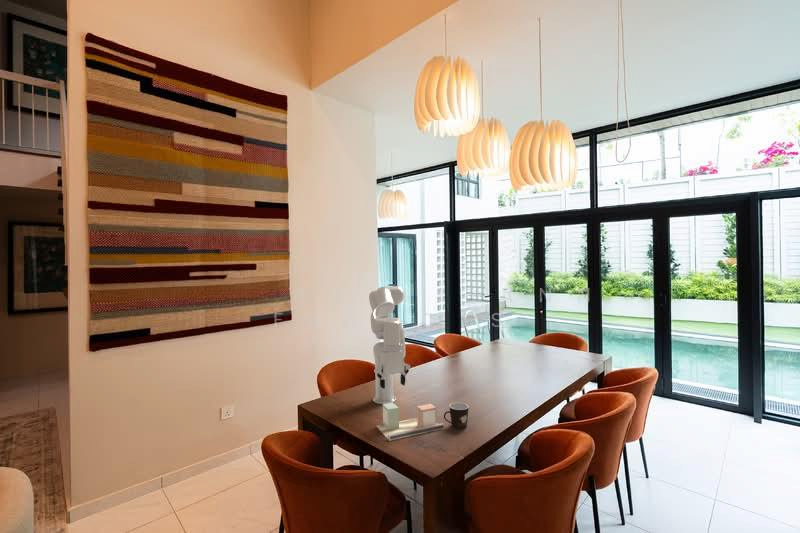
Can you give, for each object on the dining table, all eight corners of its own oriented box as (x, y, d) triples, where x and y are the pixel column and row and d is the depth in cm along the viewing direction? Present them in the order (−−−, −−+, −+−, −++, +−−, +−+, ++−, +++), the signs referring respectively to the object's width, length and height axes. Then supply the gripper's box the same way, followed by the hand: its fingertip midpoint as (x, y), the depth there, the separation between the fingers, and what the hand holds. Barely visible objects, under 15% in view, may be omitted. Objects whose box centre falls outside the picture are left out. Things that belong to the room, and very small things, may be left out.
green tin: (382, 423, 172) (382, 404, 172) (393, 421, 174) (392, 402, 174) (388, 430, 166) (388, 409, 165) (399, 427, 168) (398, 407, 167)
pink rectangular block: (422, 430, 164) (422, 410, 164) (417, 426, 169) (416, 406, 169) (436, 427, 167) (436, 407, 167) (431, 423, 172) (430, 403, 172)
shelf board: (376, 428, 170) (376, 421, 170) (427, 417, 180) (427, 411, 180) (389, 443, 155) (389, 435, 155) (444, 431, 166) (444, 424, 166)
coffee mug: (466, 424, 173) (466, 402, 173) (471, 432, 164) (470, 409, 164) (441, 424, 172) (441, 403, 172) (444, 433, 164) (444, 410, 164)
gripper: (406, 344, 176) (406, 381, 176) (371, 348, 169) (371, 386, 169) (413, 347, 169) (413, 385, 169) (377, 351, 162) (377, 391, 162)
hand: (392, 386), depth 169 cm, fingers open, 9 cm apart
